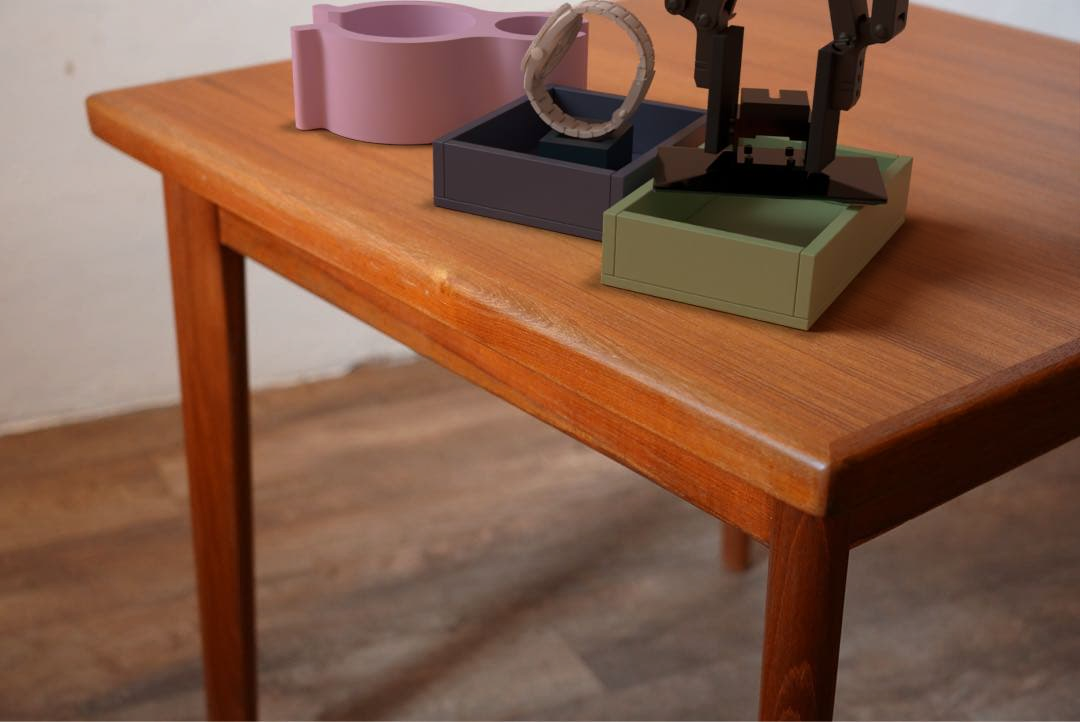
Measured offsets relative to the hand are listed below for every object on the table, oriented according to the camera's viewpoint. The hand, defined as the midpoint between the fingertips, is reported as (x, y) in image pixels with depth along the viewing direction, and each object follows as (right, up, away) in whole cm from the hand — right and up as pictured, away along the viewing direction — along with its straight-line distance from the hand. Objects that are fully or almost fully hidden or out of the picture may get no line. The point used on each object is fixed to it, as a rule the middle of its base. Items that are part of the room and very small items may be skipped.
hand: (769, 155), depth 79 cm
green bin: (0, -5, +3) cm, 6 cm away
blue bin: (-10, -1, +11) cm, 15 cm away
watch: (-10, 0, +11) cm, 15 cm away
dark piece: (0, -1, +1) cm, 1 cm away
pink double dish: (-19, +6, +24) cm, 31 cm away
